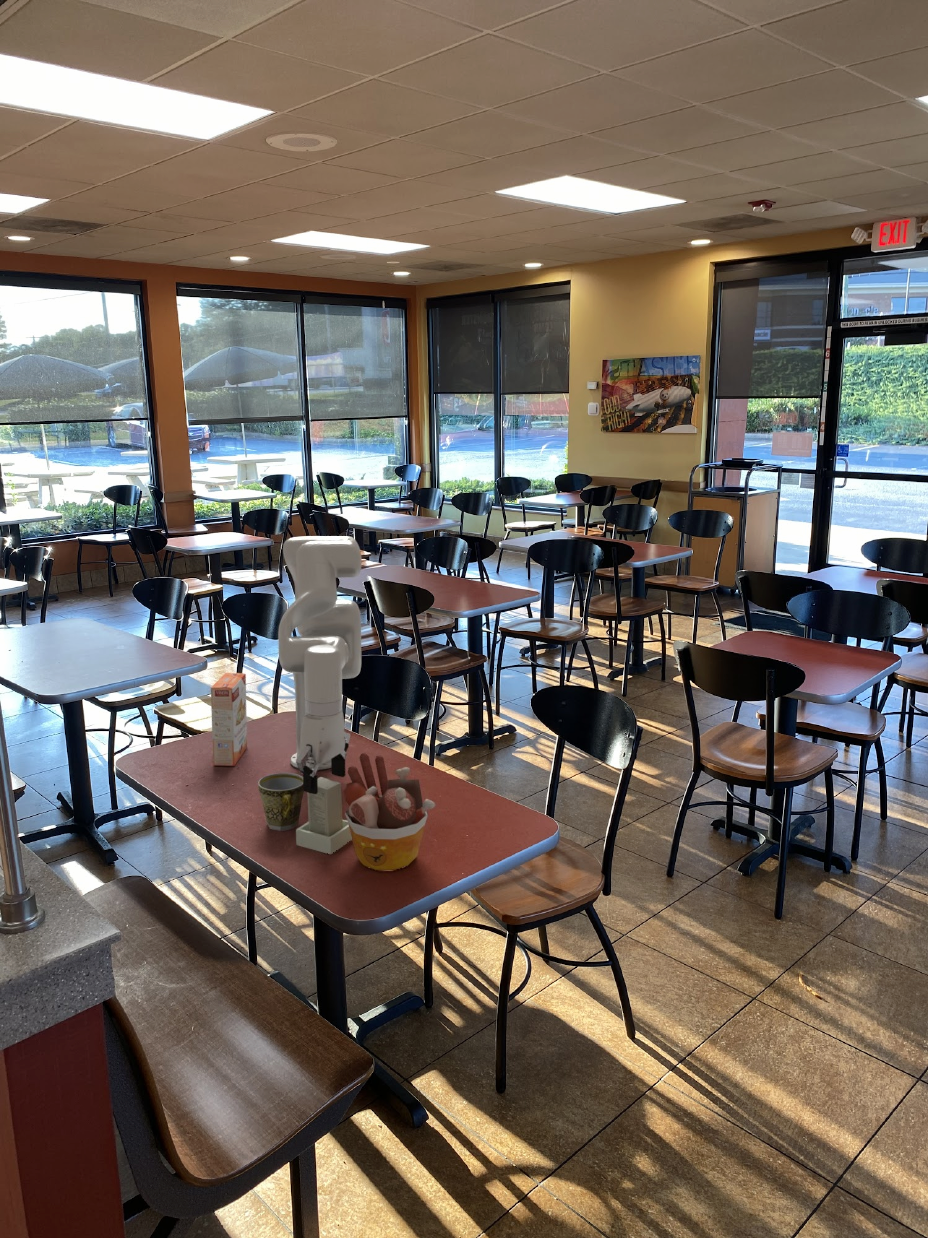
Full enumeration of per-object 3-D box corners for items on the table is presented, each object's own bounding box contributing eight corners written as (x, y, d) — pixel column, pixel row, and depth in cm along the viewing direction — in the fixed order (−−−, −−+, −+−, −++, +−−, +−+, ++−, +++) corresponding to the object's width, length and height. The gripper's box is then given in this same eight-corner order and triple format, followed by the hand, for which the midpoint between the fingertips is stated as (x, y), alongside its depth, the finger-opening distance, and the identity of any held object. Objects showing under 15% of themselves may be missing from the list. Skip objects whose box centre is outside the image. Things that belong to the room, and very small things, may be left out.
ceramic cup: (255, 818, 204) (254, 776, 202) (300, 811, 208) (299, 770, 206) (267, 843, 193) (266, 798, 191) (314, 835, 197) (313, 792, 195)
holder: (321, 829, 200) (321, 814, 199) (354, 837, 196) (354, 822, 195) (296, 845, 192) (296, 829, 192) (330, 854, 188) (330, 838, 188)
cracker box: (236, 767, 233) (233, 687, 229) (212, 766, 234) (208, 687, 229) (249, 747, 247) (246, 672, 243) (226, 747, 247) (223, 671, 243)
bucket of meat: (446, 868, 184) (447, 774, 179) (373, 890, 175) (372, 792, 170) (396, 830, 200) (396, 743, 196) (327, 848, 191) (325, 758, 187)
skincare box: (343, 837, 194) (342, 783, 191) (328, 845, 190) (327, 789, 188) (322, 829, 198) (321, 775, 195) (307, 836, 194) (306, 782, 192)
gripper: (333, 691, 197) (334, 766, 201) (281, 715, 182) (284, 795, 186) (362, 697, 194) (363, 773, 198) (312, 722, 179) (314, 803, 183)
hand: (324, 783), depth 192 cm, fingers open, 9 cm apart
